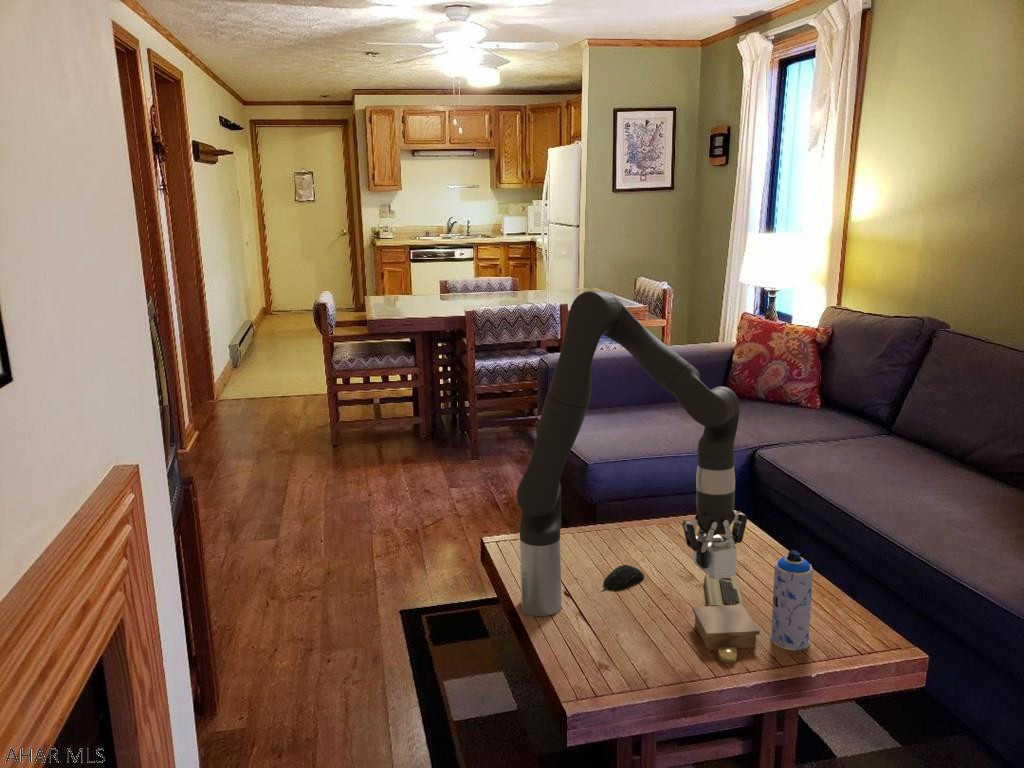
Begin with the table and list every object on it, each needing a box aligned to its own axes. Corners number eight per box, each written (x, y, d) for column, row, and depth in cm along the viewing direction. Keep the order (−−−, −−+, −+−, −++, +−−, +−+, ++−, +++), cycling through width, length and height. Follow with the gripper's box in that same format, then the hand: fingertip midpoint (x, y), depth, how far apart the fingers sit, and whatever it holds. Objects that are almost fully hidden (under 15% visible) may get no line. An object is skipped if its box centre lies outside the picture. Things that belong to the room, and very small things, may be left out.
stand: (706, 651, 161) (706, 633, 160) (692, 623, 171) (692, 607, 170) (758, 648, 161) (759, 630, 160) (741, 621, 172) (742, 604, 171)
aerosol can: (768, 628, 168) (772, 543, 164) (806, 632, 167) (811, 545, 162) (772, 648, 161) (776, 559, 156) (812, 652, 159) (817, 561, 155)
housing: (693, 563, 163) (693, 532, 161) (714, 559, 164) (715, 528, 162) (714, 579, 155) (714, 547, 154) (736, 575, 156) (736, 543, 155)
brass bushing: (721, 664, 156) (722, 655, 156) (716, 654, 159) (716, 645, 159) (739, 663, 156) (739, 654, 156) (733, 653, 160) (733, 644, 159)
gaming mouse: (589, 589, 189) (589, 574, 188) (630, 570, 198) (630, 556, 197) (608, 599, 184) (608, 583, 183) (649, 579, 193) (649, 564, 192)
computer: (745, 618, 173) (746, 605, 173) (708, 616, 175) (708, 603, 174) (738, 586, 189) (738, 573, 188) (703, 584, 190) (704, 571, 189)
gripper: (736, 476, 161) (735, 552, 165) (674, 485, 157) (674, 563, 161) (757, 487, 154) (755, 566, 158) (693, 497, 150) (692, 578, 154)
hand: (714, 564), depth 159 cm, fingers closed on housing, 5 cm apart
